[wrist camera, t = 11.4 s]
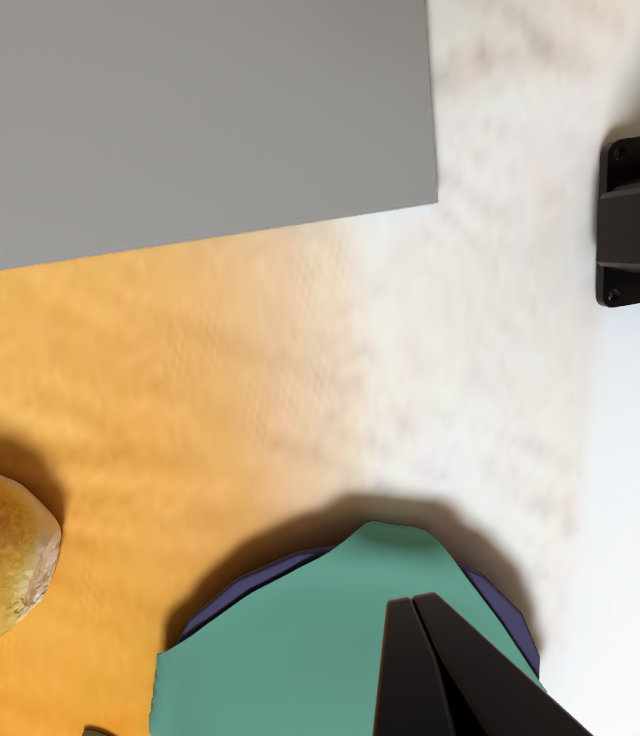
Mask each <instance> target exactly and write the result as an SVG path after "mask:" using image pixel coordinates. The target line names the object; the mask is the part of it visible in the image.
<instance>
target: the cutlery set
mask: <svg viewBox="0 0 640 736" xmlns="http://www.w3.org/2000/svg"><path fill="white" fill-rule="evenodd" d="M426 592H436V593H437V594H439V595H440V596H441V597H442V598H443V599H444V600H445V601H446V602H447V603H448V604H450V605H451V606H452V607H453V608H454V609H455V610H456V611H457V612H458V613H459V614H460V615H462V616H463V617H464V618H465V619H466V620H467V621H468V622H469V623H470V624H471V625H473V626H474V627H475V628H476V629H477V630H478V631H479V632H480V633H481V634H482V635H484V636H485V637H486V638H487V639H488V640H489V641H490V642H491V643H492V644H493V645H495V646H496V647H497V648H498V649H499V650H500V651H501V652H502V653H503V654H504V655H506V656H507V657H508V658H509V659H510V660H511V661H512V662H513V663H514V664H515V665H516V666H518V667H519V668H520V669H521V670H522V671H523V672H524V673H525V674H526V675H527V676H529V677H530V678H531V679H532V680H533V681H534V682H535V683H536V684H537V685H538V686H540V687H541V688H542V689H543V690H544V691H545V692H546V693H547V691H546V690H545V688H544V687H543V686H542V684H541V683H540V681H539V664H540V656H539V654H538V651H537V649H536V646H535V644H534V642H533V639H532V637H531V634H530V632H529V629H528V627H527V625H526V622H525V620H524V617H523V615H522V613H521V612H520V611H519V610H518V609H517V608H516V607H515V606H514V605H513V604H512V603H511V602H510V601H509V600H508V599H507V598H506V597H505V596H504V595H503V594H502V593H501V592H500V591H499V590H498V589H497V588H496V587H495V586H494V585H493V584H492V583H491V582H490V581H489V580H488V579H487V578H486V577H485V576H484V575H483V574H482V573H480V572H478V571H476V570H474V569H471V568H469V567H467V566H465V565H463V564H460V563H458V562H456V561H454V560H453V558H452V557H451V555H450V554H449V553H448V552H447V550H446V549H445V548H444V547H443V545H442V544H441V543H440V542H439V541H438V540H437V539H436V538H434V537H433V536H432V535H431V534H430V533H428V532H427V531H425V530H422V529H419V528H416V527H413V526H404V525H395V524H389V523H382V522H377V521H371V522H367V523H365V524H364V525H363V526H362V527H360V528H359V529H358V530H357V531H355V532H354V533H353V534H352V535H351V536H350V537H348V538H347V539H346V540H345V541H344V542H342V543H341V544H338V545H331V546H325V547H318V548H311V549H304V550H297V551H295V552H293V553H291V554H288V555H286V556H284V557H281V558H279V559H277V560H275V561H272V562H270V563H268V564H266V565H263V566H261V567H259V568H256V569H254V570H252V571H250V572H247V573H245V574H243V575H241V576H238V577H237V578H235V579H234V580H233V581H232V582H231V583H230V584H228V585H227V586H226V587H225V588H224V589H222V590H221V591H220V592H219V593H218V594H217V595H215V596H214V597H213V598H212V599H211V600H210V601H208V602H207V603H206V604H205V605H204V606H203V607H201V608H200V609H199V610H198V611H197V612H196V613H194V614H193V615H192V616H191V617H190V619H189V621H188V622H187V624H186V626H185V628H184V629H183V631H182V633H181V635H180V636H179V638H178V640H177V641H176V643H175V645H174V647H173V648H171V649H170V650H168V651H166V652H164V653H161V654H157V665H156V670H155V684H154V688H153V698H152V703H151V712H150V714H149V733H150V734H151V736H372V733H373V724H374V715H375V706H376V696H377V687H378V678H379V669H380V660H381V650H382V641H383V632H384V623H385V613H386V605H387V602H388V600H390V599H395V598H400V597H405V596H408V597H410V598H411V599H412V597H413V596H414V595H416V594H421V593H426ZM82 736H108V735H105V734H103V733H100V732H97V731H93V730H85V731H84V732H83V734H82Z"/></svg>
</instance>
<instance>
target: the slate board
mask: <svg viewBox="0 0 640 736" xmlns="http://www.w3.org/2000/svg"><path fill="white" fill-rule="evenodd" d="M434 203H438V193H437V178H436V163H435V148H434V134H433V119H432V104H431V89H430V74H429V60H428V45H427V30H426V15H425V0H0V270H7V269H13V268H20V267H26V266H33V265H39V264H46V263H52V262H59V261H65V260H72V259H78V258H85V257H91V256H98V255H104V254H111V253H117V252H124V251H130V250H137V249H143V248H150V247H156V246H163V245H169V244H176V243H182V242H189V241H195V240H202V239H208V238H215V237H221V236H228V235H234V234H241V233H247V232H254V231H260V230H267V229H273V228H280V227H286V226H292V225H299V224H305V223H312V222H318V221H325V220H331V219H338V218H344V217H351V216H357V215H364V214H370V213H377V212H383V211H390V210H396V209H403V208H409V207H416V206H422V205H429V204H434Z"/></svg>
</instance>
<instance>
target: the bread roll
mask: <svg viewBox="0 0 640 736" xmlns="http://www.w3.org/2000/svg"><path fill="white" fill-rule="evenodd" d="M60 540H61V529H60V526H59V524H58V522H57V520H56V519H55V517H54V516H53V515H52V514H51V512H50V511H49V510H48V509H47V508H46V507H45V506H44V505H43V504H42V503H41V502H40V501H39V500H38V499H37V498H36V497H35V496H34V495H33V494H32V493H31V492H30V491H29V490H28V489H26V488H25V487H24V486H23V485H22V484H20V483H18V482H16V481H15V480H12V479H9V478H6V477H4V476H1V475H0V637H1V636H3V635H4V634H5V633H7V632H8V631H9V630H10V629H12V627H13V626H14V625H15V624H16V622H18V621H20V620H21V619H22V618H23V617H25V616H26V615H27V614H28V613H29V611H30V610H31V609H32V608H33V607H34V606H36V605H37V603H38V602H39V601H41V600H42V599H43V598H44V596H45V592H46V591H47V588H48V586H49V583H50V580H51V578H52V575H53V573H54V570H55V568H56V564H57V559H58V553H59V546H60Z"/></svg>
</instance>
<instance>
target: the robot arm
mask: <svg viewBox="0 0 640 736" xmlns="http://www.w3.org/2000/svg"><path fill="white" fill-rule="evenodd" d="M616 149H617V150H618V153H619V156H618V159H617V160H616V159H615V158H614V152H615V150H616ZM611 291H613V296H612V298H611V299H610V300H609V298H608V296H609V293H610V292H611ZM596 299H597V302H598V303H599V304H600V305H602V306H605V307H619V306H625V305H631V304H637V303H640V136H639V137H633V138H626V139H620V140H617V141H614V142H611V143H608V144H607V145H606V146H605V147H604V149H603V150H602V152H601V157H600V187H599V201H598V227H597V283H596ZM372 736H593V735H592V734H591V733H590V732H589V731H588V730H587V729H586V728H585V727H583V726H582V725H581V724H580V723H579V722H578V721H577V720H576V719H575V718H574V717H572V716H571V715H570V714H569V713H568V712H567V711H566V710H565V709H564V708H563V707H561V706H560V705H559V704H558V703H557V702H556V701H555V700H554V699H553V698H552V697H551V696H549V695H548V694H547V693H546V692H545V691H544V690H543V689H542V688H541V687H540V686H538V685H537V684H536V683H535V682H534V681H533V680H532V679H531V678H530V677H529V676H527V675H526V674H525V673H524V672H523V671H522V670H521V669H520V668H519V667H518V666H516V665H515V664H514V663H513V662H512V661H511V660H510V659H509V658H508V657H507V656H506V655H504V654H503V653H502V652H501V651H500V650H499V649H498V648H497V647H496V646H495V645H493V644H492V643H491V642H490V641H489V640H488V639H487V638H486V637H485V636H484V635H482V634H481V633H480V632H479V631H478V630H477V629H476V628H475V627H474V626H473V625H471V624H470V623H469V622H468V621H467V620H466V619H465V618H464V617H463V616H462V615H460V614H459V613H458V612H457V611H456V610H455V609H454V608H453V607H452V606H451V605H450V604H448V603H447V602H446V601H445V600H444V599H443V598H442V597H441V596H440V595H439V594H437V593H436V592H426V593H421V594H416V595H414V596H413V597H412V599H411V598H410V597H408V596H405V597H400V598H395V599H390V600H388V602H387V605H386V613H385V623H384V632H383V641H382V650H381V660H380V669H379V678H378V687H377V696H376V706H375V715H374V724H373V733H372Z"/></svg>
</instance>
